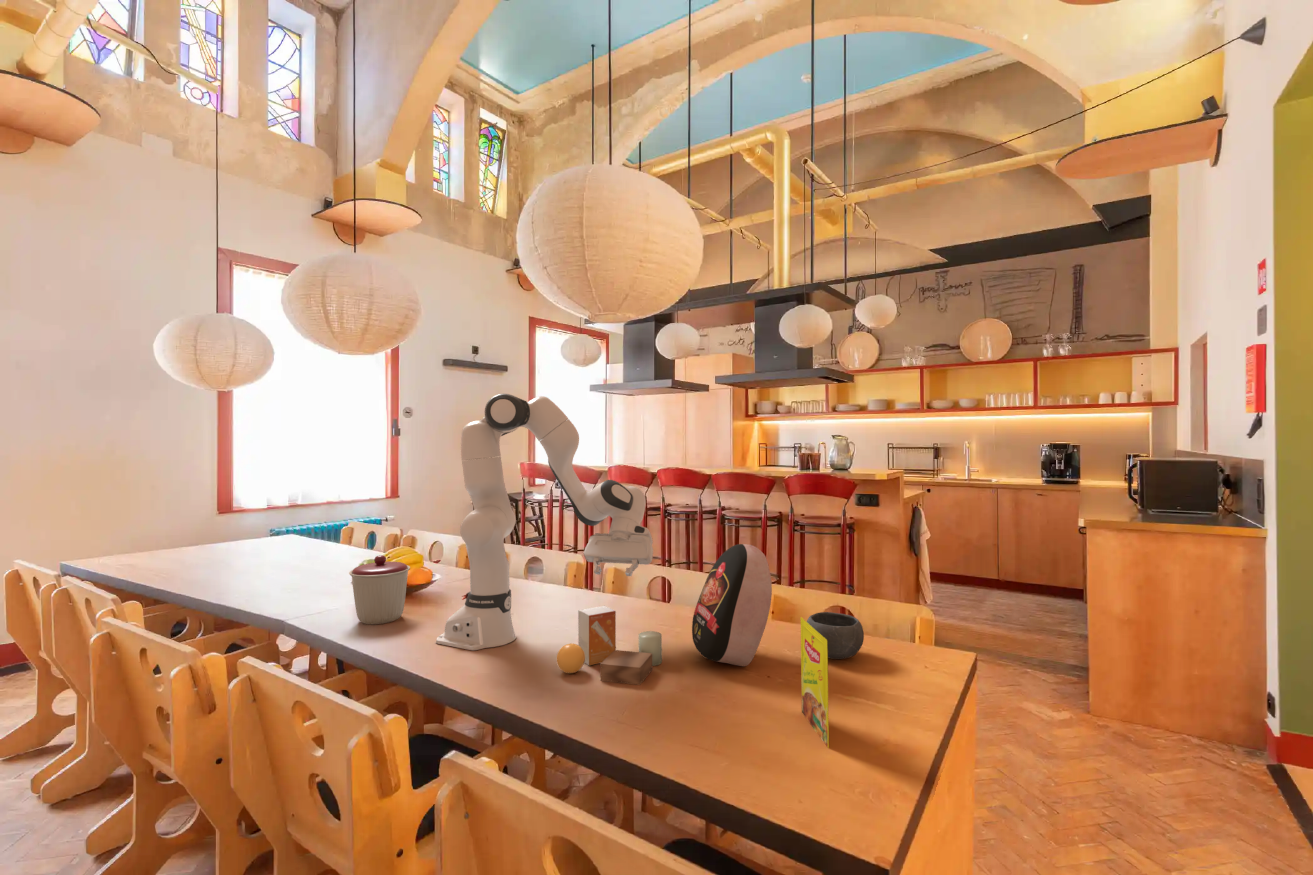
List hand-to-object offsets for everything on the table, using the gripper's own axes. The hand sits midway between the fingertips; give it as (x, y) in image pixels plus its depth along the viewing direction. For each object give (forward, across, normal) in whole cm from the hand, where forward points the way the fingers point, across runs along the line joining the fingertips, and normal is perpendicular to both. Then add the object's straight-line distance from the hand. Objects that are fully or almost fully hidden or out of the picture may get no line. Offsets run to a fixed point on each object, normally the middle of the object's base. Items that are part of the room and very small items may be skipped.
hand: (612, 574), depth 171 cm
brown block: (+28, +11, 0) cm, 30 cm away
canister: (+12, -82, +17) cm, 84 cm away
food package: (+40, +56, -12) cm, 70 cm away
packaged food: (+16, +34, +12) cm, 40 cm away
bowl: (+10, +60, +18) cm, 64 cm away
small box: (+23, 0, +6) cm, 23 cm away
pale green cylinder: (+21, +14, +7) cm, 26 cm away
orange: (+27, -3, -4) cm, 28 cm away
